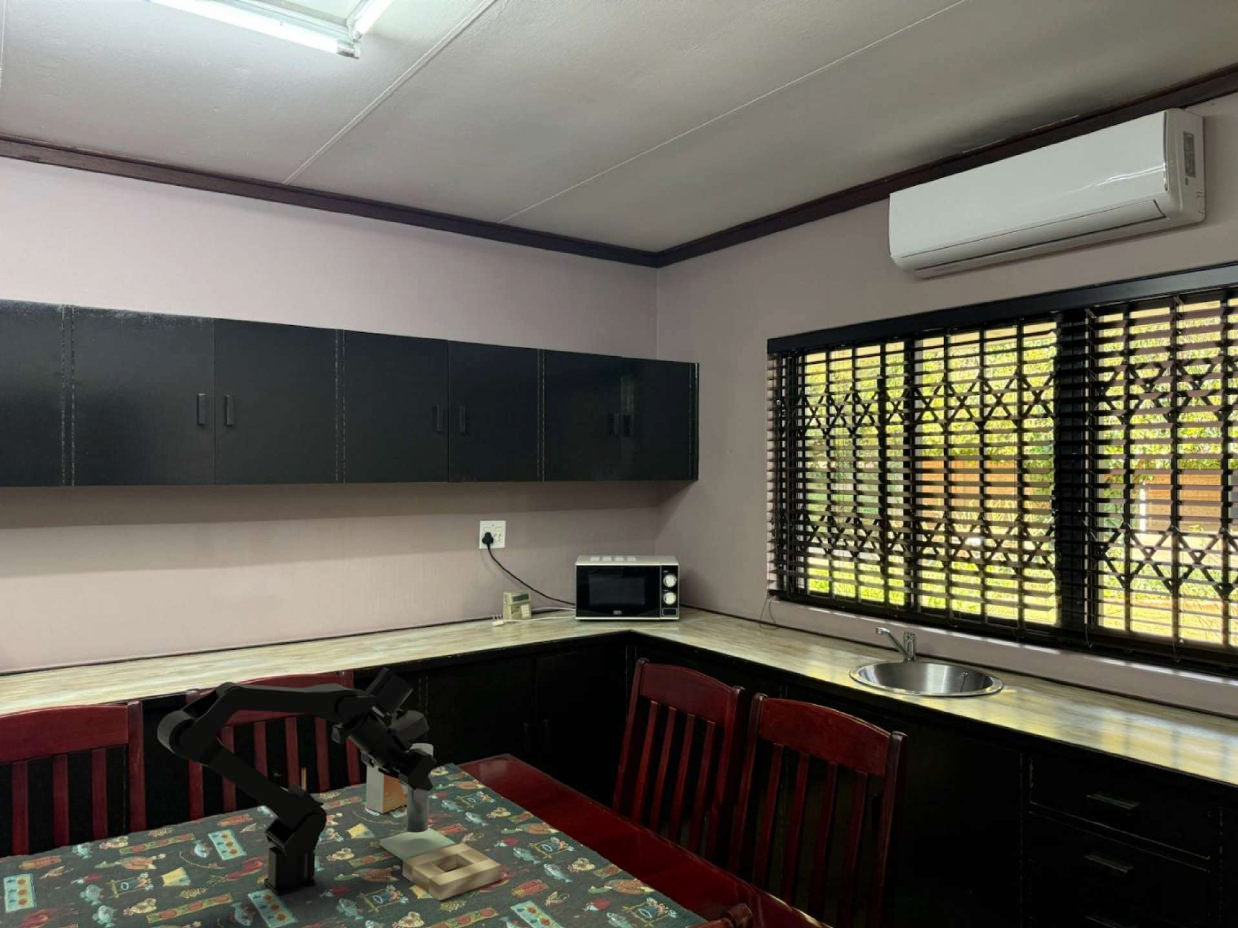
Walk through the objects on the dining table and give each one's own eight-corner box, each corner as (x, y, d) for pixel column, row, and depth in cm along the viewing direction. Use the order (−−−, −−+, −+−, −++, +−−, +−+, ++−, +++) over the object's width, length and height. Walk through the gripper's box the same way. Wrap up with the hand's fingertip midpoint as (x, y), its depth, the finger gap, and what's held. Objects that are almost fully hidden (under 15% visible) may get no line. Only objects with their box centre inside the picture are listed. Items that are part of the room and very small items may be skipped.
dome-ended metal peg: (423, 834, 163) (426, 751, 164) (399, 831, 164) (402, 749, 165) (434, 825, 168) (437, 744, 168) (411, 822, 169) (413, 742, 169)
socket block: (439, 900, 145) (439, 884, 145) (402, 875, 154) (403, 860, 154) (500, 879, 153) (500, 864, 153) (462, 856, 162) (462, 842, 162)
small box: (382, 814, 182) (383, 762, 182) (365, 807, 185) (366, 756, 185) (413, 803, 188) (414, 753, 188) (396, 797, 191) (397, 747, 192)
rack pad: (406, 862, 159) (406, 857, 159) (379, 844, 166) (380, 839, 166) (455, 848, 166) (455, 842, 166) (427, 831, 173) (427, 826, 173)
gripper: (428, 709, 157) (479, 761, 164) (378, 689, 171) (427, 738, 178) (386, 763, 152) (440, 814, 159) (337, 738, 165) (389, 786, 173)
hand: (425, 785), depth 167 cm, fingers closed on dome-ended metal peg, 4 cm apart
